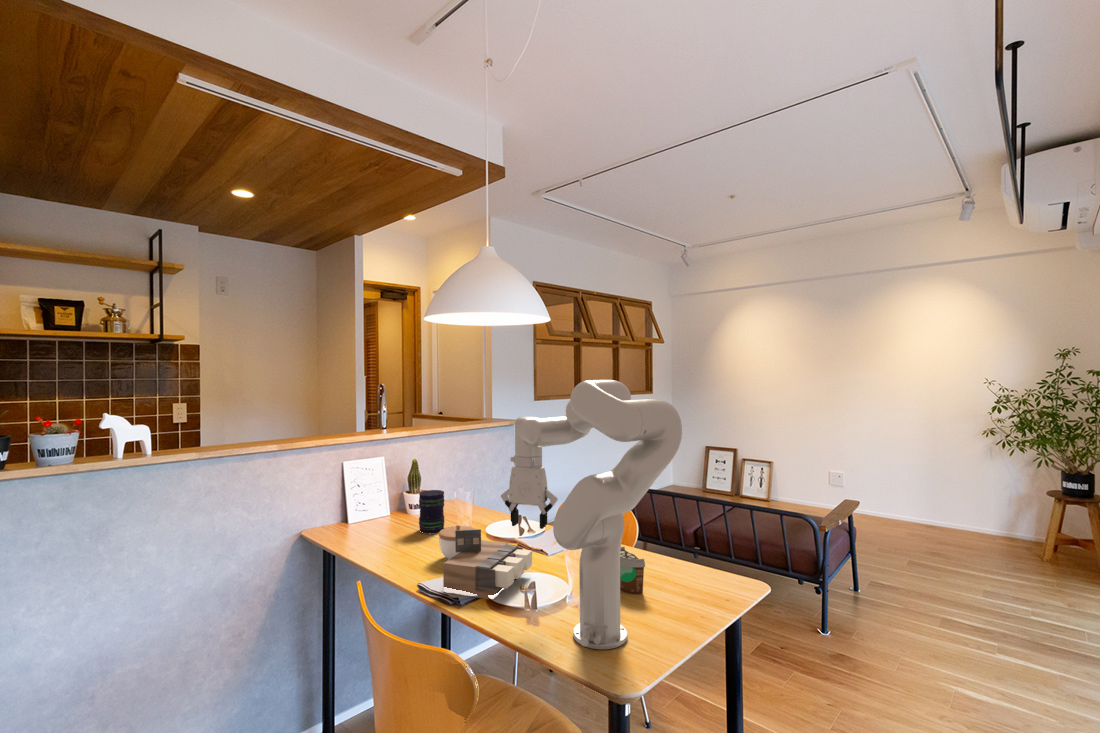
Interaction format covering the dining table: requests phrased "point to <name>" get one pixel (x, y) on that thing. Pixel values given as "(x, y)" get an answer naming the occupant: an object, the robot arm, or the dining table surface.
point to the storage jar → (431, 511)
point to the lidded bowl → (450, 540)
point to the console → (475, 563)
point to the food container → (631, 573)
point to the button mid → (515, 565)
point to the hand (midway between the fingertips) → (528, 525)
